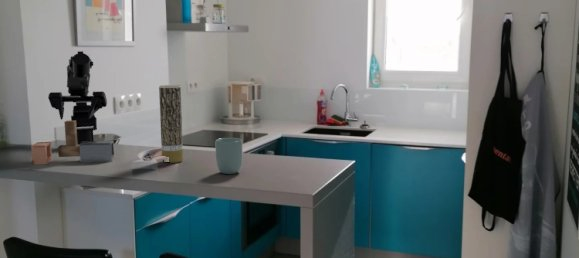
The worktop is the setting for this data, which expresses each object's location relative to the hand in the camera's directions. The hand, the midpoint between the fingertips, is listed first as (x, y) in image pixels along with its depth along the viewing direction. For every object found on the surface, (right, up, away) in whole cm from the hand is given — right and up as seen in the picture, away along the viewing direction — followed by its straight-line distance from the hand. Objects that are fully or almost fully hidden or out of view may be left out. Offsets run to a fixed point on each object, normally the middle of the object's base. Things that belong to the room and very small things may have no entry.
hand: (75, 118), depth 199 cm
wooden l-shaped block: (+5, -12, -5) cm, 14 cm away
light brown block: (-8, -15, -7) cm, 18 cm away
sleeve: (+9, -14, -4) cm, 17 cm away
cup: (+56, -17, -25) cm, 63 cm away
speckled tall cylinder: (+35, -14, -8) cm, 39 cm away
